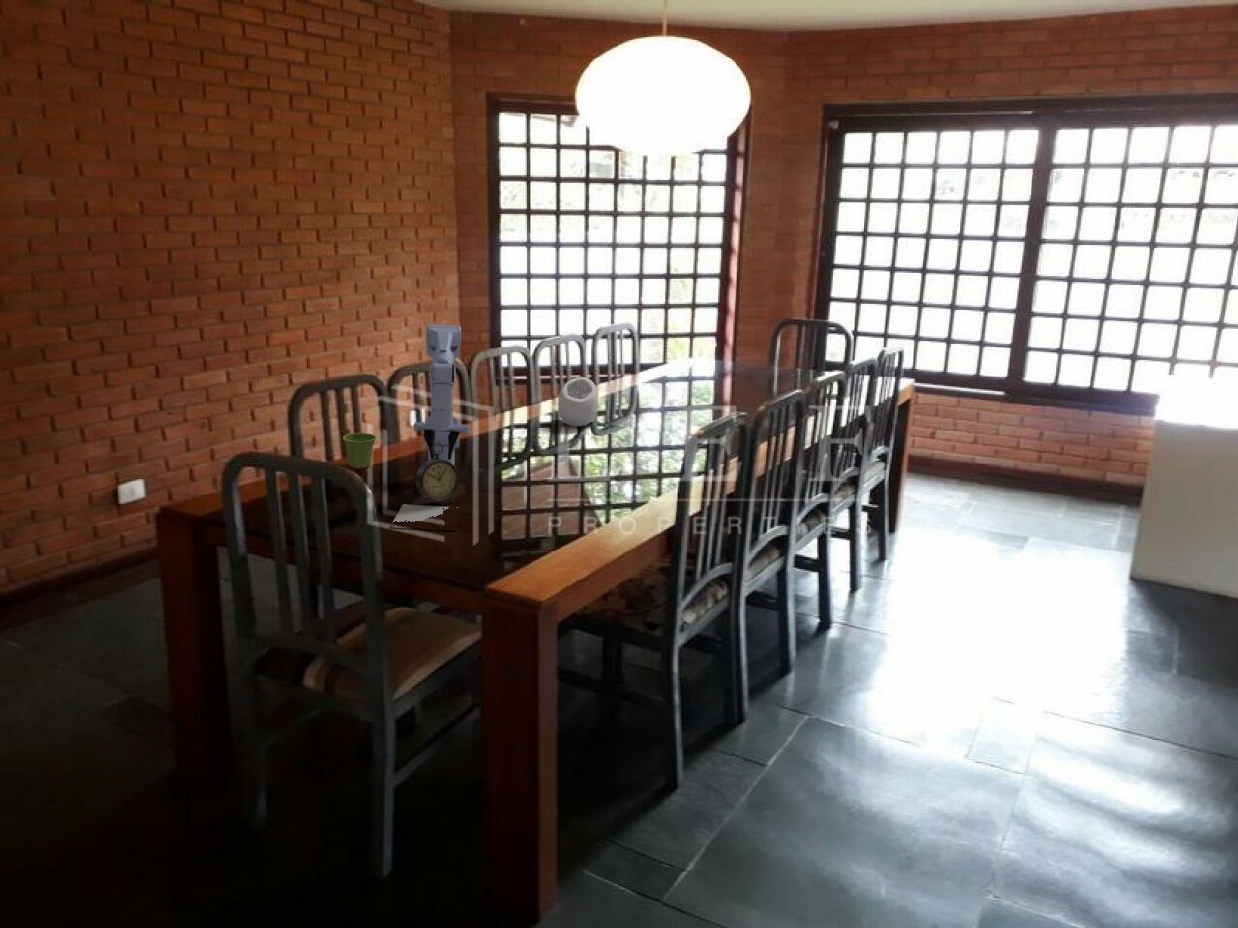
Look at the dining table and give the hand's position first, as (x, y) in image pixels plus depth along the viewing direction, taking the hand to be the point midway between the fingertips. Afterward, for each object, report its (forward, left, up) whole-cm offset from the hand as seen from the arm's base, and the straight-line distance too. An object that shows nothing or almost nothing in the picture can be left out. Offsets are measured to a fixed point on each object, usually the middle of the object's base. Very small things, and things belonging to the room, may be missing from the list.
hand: (441, 458), depth 253 cm
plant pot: (-22, -27, -11) cm, 36 cm away
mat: (+18, 0, -10) cm, 21 cm away
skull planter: (-87, +36, -11) cm, 95 cm away
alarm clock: (+8, 0, -10) cm, 13 cm away
